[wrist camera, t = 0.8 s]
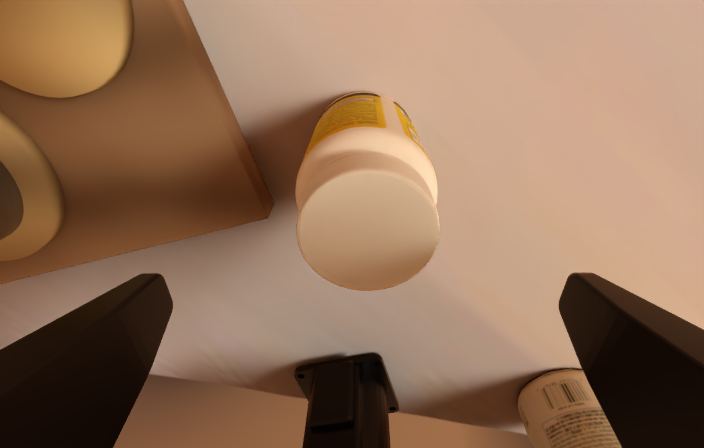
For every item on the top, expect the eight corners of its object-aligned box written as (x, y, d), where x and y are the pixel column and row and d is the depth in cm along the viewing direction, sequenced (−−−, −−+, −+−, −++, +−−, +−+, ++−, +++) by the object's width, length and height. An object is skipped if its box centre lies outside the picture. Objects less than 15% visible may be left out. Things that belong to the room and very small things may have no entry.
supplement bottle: (300, 163, 17) (257, 268, 10) (338, 70, 15) (317, 120, 8) (385, 200, 18) (401, 320, 11) (433, 118, 16) (492, 201, 9)
